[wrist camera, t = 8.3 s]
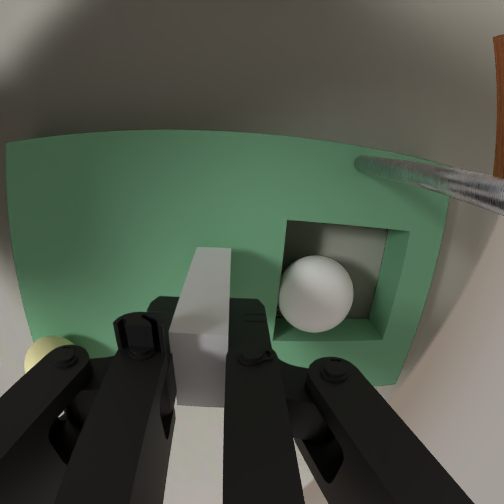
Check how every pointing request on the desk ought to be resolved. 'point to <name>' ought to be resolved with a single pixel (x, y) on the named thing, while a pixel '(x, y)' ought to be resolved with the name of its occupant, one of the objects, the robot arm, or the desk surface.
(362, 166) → the pin
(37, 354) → the ball
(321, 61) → the desk surface
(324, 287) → the ball
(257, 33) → the desk surface
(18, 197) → the green board with hole
